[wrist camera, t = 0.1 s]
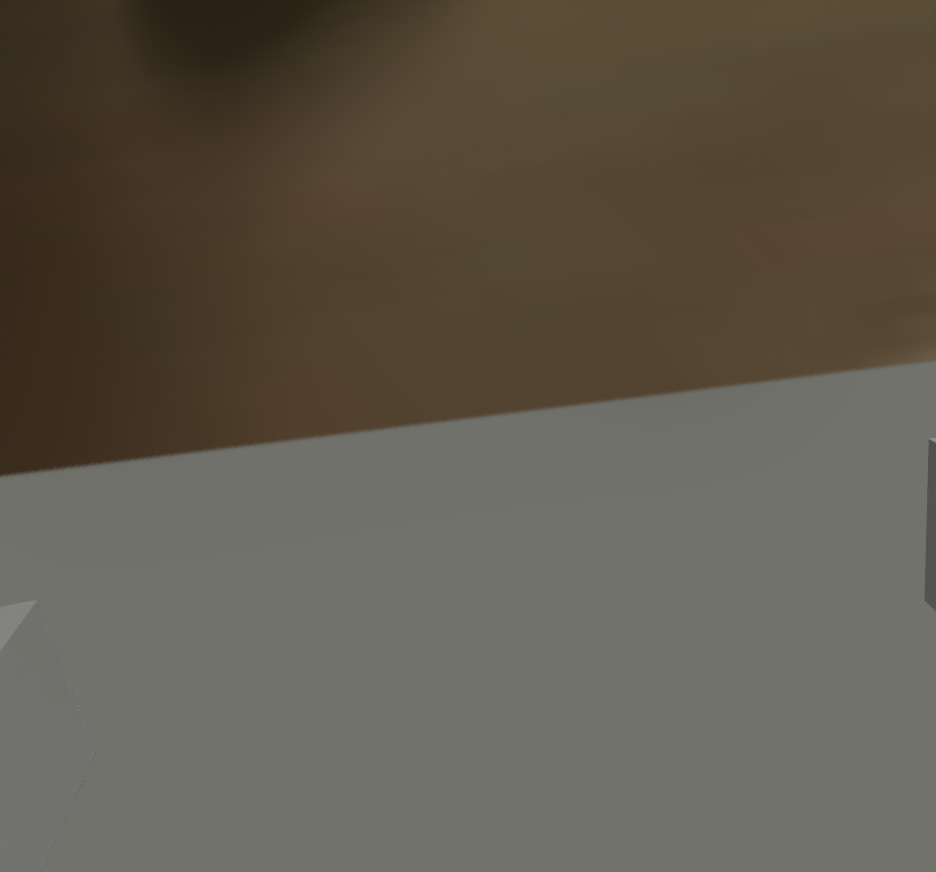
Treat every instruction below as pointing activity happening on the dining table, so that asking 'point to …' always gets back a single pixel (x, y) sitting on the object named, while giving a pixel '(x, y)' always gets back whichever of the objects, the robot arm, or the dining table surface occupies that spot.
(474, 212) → the dining table surface
